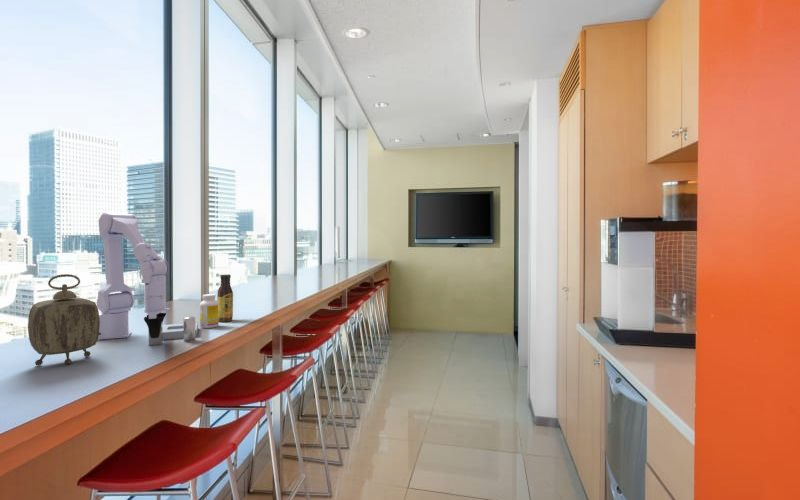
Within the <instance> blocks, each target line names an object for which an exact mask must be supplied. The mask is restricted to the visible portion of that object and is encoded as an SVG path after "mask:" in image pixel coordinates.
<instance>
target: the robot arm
mask: <svg viewBox="0 0 800 500" xmlns="http://www.w3.org/2000/svg"><path fill="white" fill-rule="evenodd" d="M138 227H139V220H138V218H137V216H136V215H135V214H134V213H119V212H118V213H116V212H107V211H106V212H103V213H102V214H101V215H100V217H99V218H98V230H99V231H98V232H99V237H101V238H102V239H103V241H102V242H103V253H104V266H105V281H106V282H105V283H106V285H105V286H104V287H102V288H101V289H99V290H98V291H97V299H96V305H97V308H98V311H100V312H99V319H100V328H99V336H98V340H97V341H99V340H111V339H113V340H114V339H122V338H128V337H129V336H130V335H131V334H132V332H133V331H129V311H131V309H132V308H133V307H134V304H135V297H134V294H133V290H132V287H130V286H128V285H127V284H126V283H125V278H124V265H123V264H124V263H123V262H124V261H123V252H122V251H123V250H122V240H123V239H124V238H126V239H127V240H128V242H129V243H130V244H131V246H132V247H133V249H132V253H133V255H134V257H135V258H136V260H137V261H138V263H139V264H140V269H139V270H140V274H141V276H142V282H143V283H144V305H145V307H144V308H145V309H144V313H145V314H146V316H144V318H143V320H144V322H145V324H146V326H147V329H149V332H148V334H149V333H150V337H151V338H158V337H159V334H160V327H161V323H162V324H163V322H164V320H165V317H166V315H167V311H168V312H169V311H170V307H166V276H167V275H168V273H169V270H170V265H169V263H168V261H167V260H166V259H165V258H162V257H159V255H158V254H157V252H156V251H155V249H154V248H153V247H152V245H151V243H148V242H145V240H144V238H143V236H142V234H141V232H140V231H139V229H138Z"/></svg>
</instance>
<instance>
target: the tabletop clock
mask: <svg viewBox="0 0 800 500" xmlns="http://www.w3.org/2000/svg"><path fill="white" fill-rule="evenodd" d="M65 277H66V278H67V277H68V278H73V279H76V280H77V283H76V284H73V285H70V286H68V284H66V283H64V284H63V283H62V286H60V287H59V286H55V285H54V286H53V285H51V282H52V281H53V280H55V279H57V278H65ZM47 284H48V286H49V288H51V289H54V290H58V291H57V292H55V293H54V294H53V296H52V299H48V300H42V301H39V302H36V303H34V304H32V306H31V307H30V309H29V312H28V320H27V332H28V333H27V334H28V339H29V343H30V347H32V349H33V350H34V351H35V352H36V353H37V354H38V355H41V357H40V359H36V361H35V362H34V364H35V366H41V365H43V363H44V361H43V360H44V359H45V357H46V356H52V355H61V354H65V358H66V359H65V360H64V361H63V362H64V364H65V365H67V366H69V365H71V364H72V362H73V359H71V358H70V353H73V352H79V351H83V352H84V353H83V356H84V357H86V358H88V357H90V355H92V354H91V351H90V350H87V349H89V348H92V347H93V346H96V345H97V342H98V341H99V340H98V336H99V328H100V319H99V313H100V312H99V311H100V310H99V309H98V307H97V303H96V302H95V301H93V300H90V299H87V298H83V297H77V295H76V293H75V292H74V291H71V290H72V289H74V288H76V287H78V286H79V285H80V284H81V280H80V278H79V277H78V276H76V275H74V274H66V273H65V274H58V275H54V276H52V277H51V278H50V279H49V280H48V281H47Z"/></svg>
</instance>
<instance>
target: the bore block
mask: <svg viewBox="0 0 800 500" xmlns="http://www.w3.org/2000/svg"><path fill="white" fill-rule="evenodd" d="M162 330H163V340H164V341H165V340H173V339H184V328H183V323H172V324H162ZM198 331H199V322H198V321H197V322H196V321H195V338H196V337H197V336H198Z"/></svg>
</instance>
